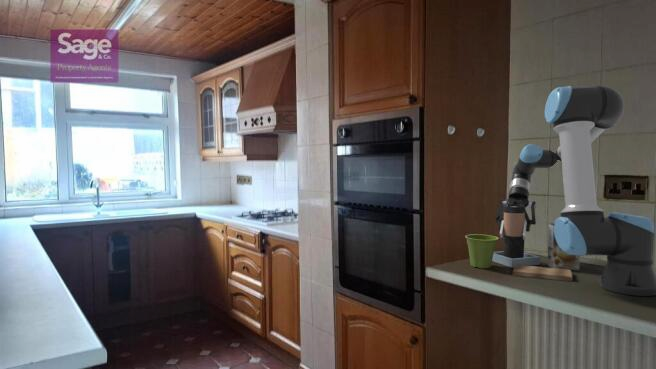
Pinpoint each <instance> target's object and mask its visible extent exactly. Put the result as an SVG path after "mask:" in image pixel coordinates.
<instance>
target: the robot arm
mask: <svg viewBox="0 0 656 369" xmlns="http://www.w3.org/2000/svg"><path fill="white" fill-rule="evenodd" d="M624 113H625V101H624V98H623V96H622V95H621V93H619V91H618V90H616V89H615V88H613V87H611V86H608V85H588V86H587V85H584V86H579V85H578V86H575V85H574V86H573V85H567V86H559V87H556V88H554V89H553V90H552V91H551V92H550V94H549V95H548V97H547V100H546V103H545V108H544V118H545V120H546V122H547V123H548V124H551V125H553V126H552V127H553V128H552V129H553V131H554V132H555V133H556V134H558V135H559V146H558V147H557V148H558V149H557V148H556V149H557V151H556V153H554V152H552V151H551V150H552V149H542V147H540V146H539V145H538V144H537V145H535V144H533V143H529V144H527V145H525V146H524V147H523V148H522V150H521V152H520V153H519V157H518V159H517V161H518V162H517V161H516V162H517V164H516V165H515V167H514V166H513V167H514V168H513V167H512V170H513V171H511V172H512V174H511V180H510V183H509V184H510V185H509V190H508V196H507V199H506V200H504V201H503V200H502V199H500V200H499V201H498V202H499V206H498V208H497V210H496V213H495V216H494V221H495V223H498V225H497V228H498V230H500V231H499V236H500V237H499V238H500V239H501V238H502V239H503V230H504V206H506V205H507V206H508V205H521V206H525V223H524V229H523V239H525V240H526V238H527V232H530V231H531V225H536V224H537V222H536V221H537V220H536V208H537V202H536V201H534V200H533V201H529V198H530V197H529V196H530V190H531V181H532V177H531V175H532V176H533V174H534V172H535V171H536V169H550V168H549V167H551V166H553V165H554V164H555V163H556V162H557V160H560V161H562V168H561V170H562V172H561V173H562V182H563V184H562V185H563V194H564V205H565V206H564V208H563V209H562V210H561V211H560V216H559V217H557V218H556V219H555V220H554V224H555V226H554V235H555V239H556V242H557V244H558V246H559V247H560V248H561V250H562V251H563V252H565V253H566V254H569V255H579V256H580V257H582V256H583V257H584V256H606V263H605V265H604V267H603V270H602V272H601V275H600V277H599V286H600V287H601V288H602V289H604V290H606V291H610V292H613V293H616V294H617V293H618V294H621V295H629V296H636V297H637V296H638V297H639V296H640V297H652V296H653V297H654V296H656V272H655V269H654V249H655V248H654V247H655V245H654V244H655V234H656V232H655V224H654V221H653V219H652V218H649V217H647V216H640V215H634V214H628V213H623V212H622V213H620V212H613V211H612V212H611V211H610V212H608V214H607V217H606V216H605V215H604V212H605V211H604V210H603V209H602V208H600V207H599V206H598V202H597V201H598V200H597V191H596V182H595V181H596V180H595V170H594V159H593V151H592V149H593V148H592V143H593V142H594V141H596V139H597V138H599V136H600V135H601V134H602V133H603V132H604V131H605V130H609V129H612V128H613V127H614V126H615V125H616V124H617V123H618V122H619V121H620V120H621V118H622V117H623V114H624ZM528 206H529V208H530V211H531V219H530V217H529V214H528V212H527V209H526V208H527V207H528ZM525 240H524V241H525Z"/></svg>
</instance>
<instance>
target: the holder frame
mask: <svg viewBox="0 0 656 369" xmlns="http://www.w3.org/2000/svg"><path fill="white" fill-rule="evenodd" d="M492 262H493V263H494V262H495V263H497V264H500V265H503V266H505V267H506V266H507V267H509V268H513V269H514V265H524V266H538V265H540V264H541V256H539V255H535V254H531V253H527V252H524V257H523V258H515V259H512V258H508V257H505V256H504V250H502V251H501V250H500V251H494V254H493V258H492Z"/></svg>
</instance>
